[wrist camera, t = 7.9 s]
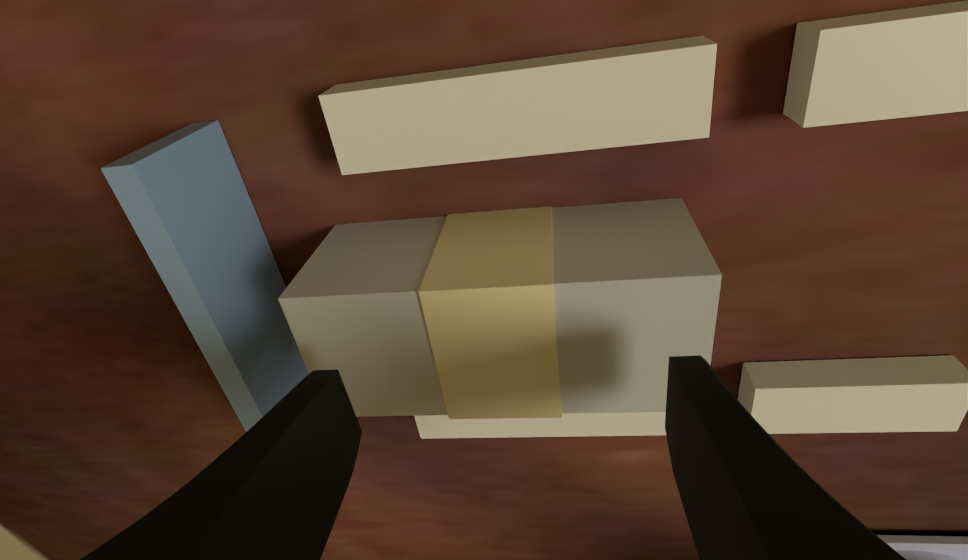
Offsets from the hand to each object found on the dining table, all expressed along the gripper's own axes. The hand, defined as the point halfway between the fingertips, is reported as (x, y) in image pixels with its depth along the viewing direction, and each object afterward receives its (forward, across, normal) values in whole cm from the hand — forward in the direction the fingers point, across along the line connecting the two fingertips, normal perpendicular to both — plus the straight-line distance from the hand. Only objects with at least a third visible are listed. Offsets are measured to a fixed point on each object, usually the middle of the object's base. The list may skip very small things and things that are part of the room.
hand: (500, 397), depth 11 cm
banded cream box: (+5, 0, 0) cm, 5 cm away
